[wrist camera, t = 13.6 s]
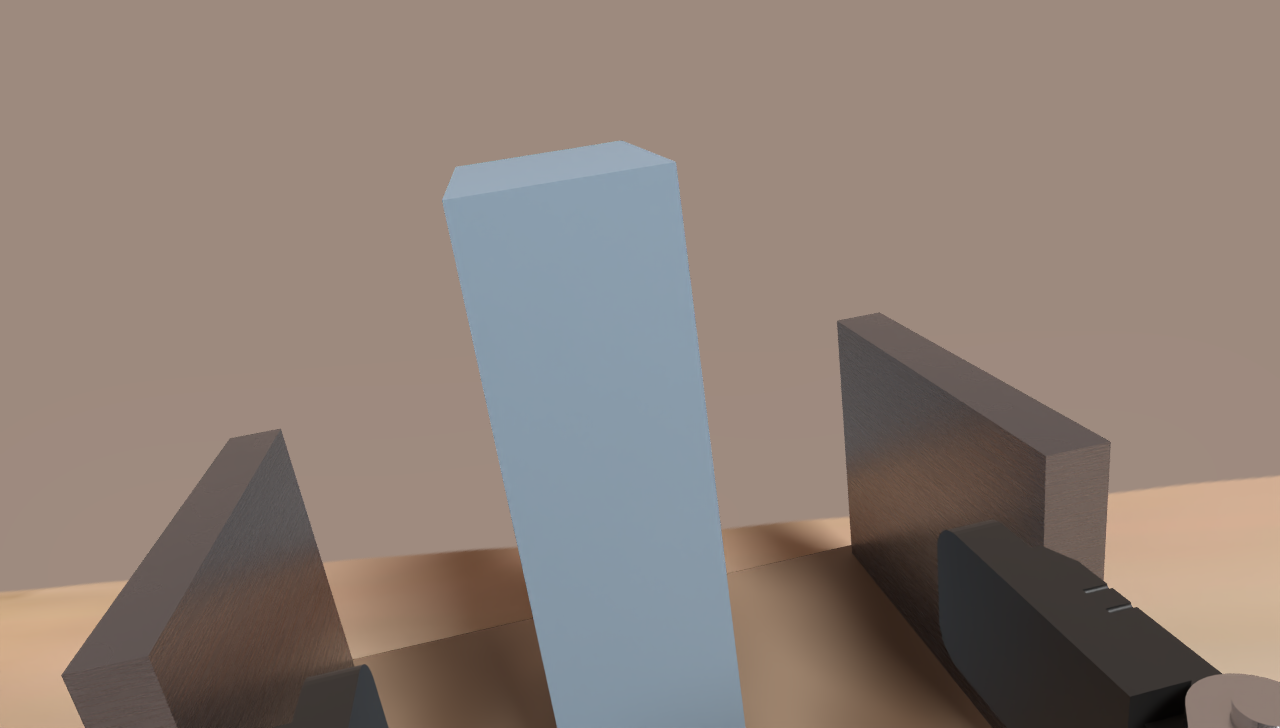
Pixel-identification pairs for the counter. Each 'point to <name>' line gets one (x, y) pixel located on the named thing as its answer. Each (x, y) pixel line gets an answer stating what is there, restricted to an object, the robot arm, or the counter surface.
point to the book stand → (766, 654)
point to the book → (601, 429)
